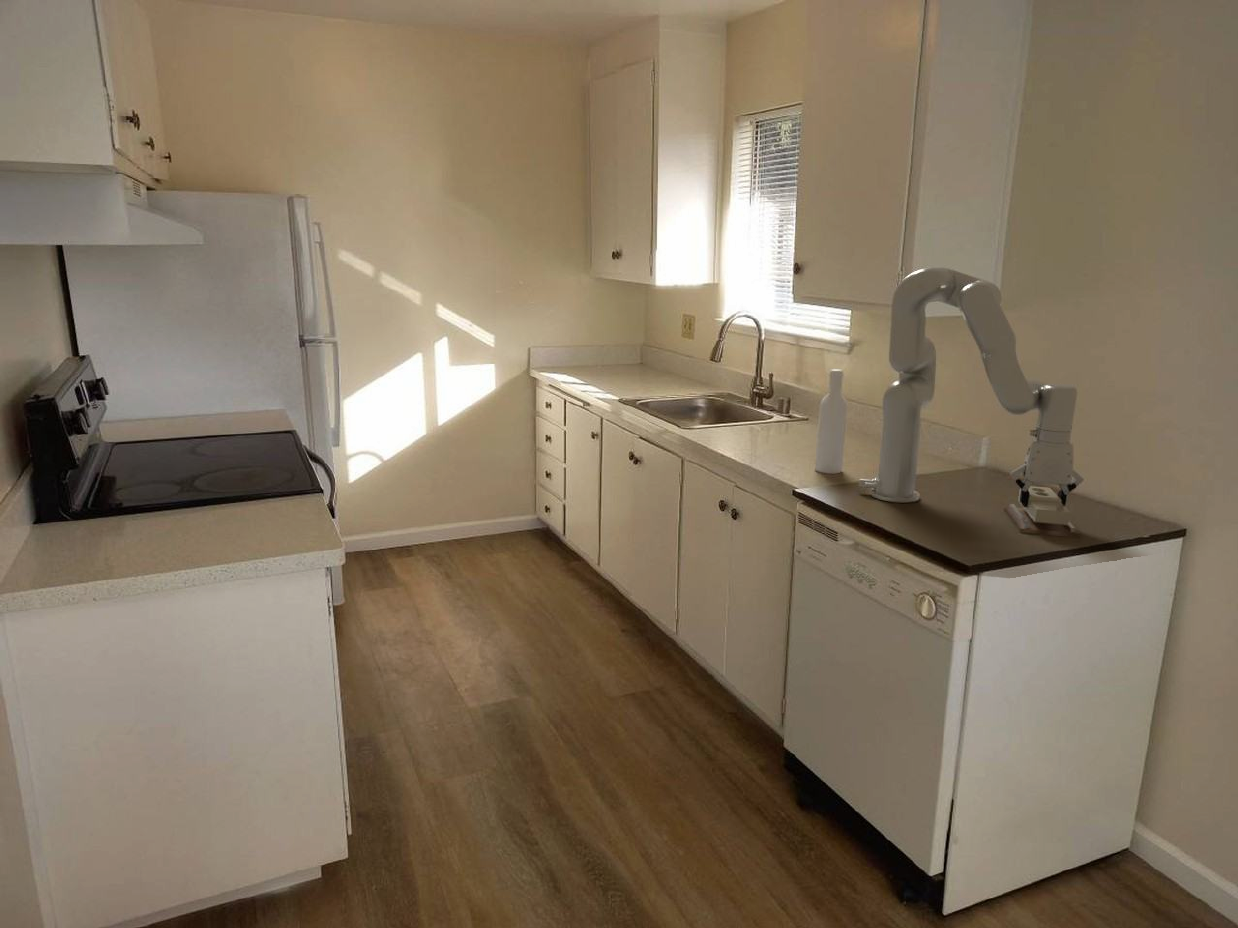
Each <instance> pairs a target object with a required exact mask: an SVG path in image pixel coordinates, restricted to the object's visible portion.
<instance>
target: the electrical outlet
mask: <svg viewBox="0 0 1238 928" xmlns="http://www.w3.org/2000/svg"><path fill="white" fill-rule="evenodd" d="M1028 491H1029V499H1028V505H1027V507H1023V505H1022V503H1020V495H1021V488H1020V487H1019V492H1018V498H1017V501H1018V502H1019V504H1020V505H1021V507H1022V508H1024V509H1025V510H1026V511H1027V513H1028V514H1029V515H1030V517H1031V518H1032V519H1033V520H1034V522H1041V523H1052V524H1063V525H1068V521H1069V520H1070V514H1071V512H1070V511H1069V509H1068V508H1067V507H1066V505H1065V506H1064V505H1063V504H1062V503H1061V499H1060V498H1059V497H1058V494H1057V493H1056V492H1055V491H1054V490H1053V489H1052V488H1051V487H1045V486H1043V487H1042V486H1033V485H1031V486H1030V488H1029V489H1028ZM1069 522H1070V521H1069Z"/></svg>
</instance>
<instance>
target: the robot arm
mask: <svg viewBox="0 0 1238 928" xmlns="http://www.w3.org/2000/svg"><path fill="white" fill-rule="evenodd" d="M935 302H936V303H937V302H940V303H943V304H946V305H949V306H952V307H955V308H958V309H959V311H960V314H961V315H962V318H963V320H964V322H965V323H966V325H967V327H968V330H969V331H970V333H971V336H972V338H973V339H974V342H975V344H976V346H977V349H978V350H979V353H980V356H981V361H982V364H983V367H984V369H985V373H986V376H987V379H988V381H989V384H990V385H991V388H992V389H993V392H994V393H995V396H996V398H997V400H998V402H999V403H1000V405H1001V406H1002V408H1003V409H1004V410H1005V411H1006V412H1008V413H1009V414H1012V415H1018V416H1020V415H1021V416H1022V415H1025V414H1027V413H1029V412H1031V411H1033V410H1038V414H1037V420H1036V426H1035V428H1034V429H1029V430H1028V436H1031V437H1033V439H1031V441H1030V442H1029V446H1028V449H1027V452H1026V455H1025V460H1024V463H1023V464H1022V465H1020V466H1018V467H1016V468H1015V469H1014V470H1011V471H1010V472H1009V474H1010V477H1011V478H1012V479H1013V480H1014V482H1015V484H1016V485H1017V486H1018V487H1019V489H1020V488H1021V495H1020V503H1022V505H1023V506H1022V505H1021V506H1022V508H1023V507H1027V505H1028V499H1029V491H1028V489H1029V488H1030V486H1033V484H1041V485H1052V486H1059V489H1060V490H1059V491H1057V496H1058V497H1059V498H1060V499H1061V503H1062V504H1063V505H1064V506H1065V507H1066V504H1067V503H1066V502H1067V498H1068V497H1067V496H1068V495H1069V494H1070V492H1072V491H1074V490H1075V489H1076V488H1077V487H1078V486H1079V485H1081V484H1082V483H1083V482H1084V478H1083V477H1082V476H1081V475H1080V474H1079V473H1078V472H1076V471H1075V470H1074V457H1075V456H1074V455H1075V454H1074V451H1075V450H1074V443H1072V442H1071V435H1072V429H1073V424H1074V419H1075V418H1074V416H1075V411H1076V410H1075V409H1076V403H1077V398H1078V390H1077V388H1076V387H1075V386H1073V385H1070V384H1065V383H1049V382H1043V381H1039V380H1035V379H1029V378H1026V377H1025V375H1024V372H1023V370H1022V368H1021V366H1020V364H1019V360H1018V356H1017V349H1016V348H1017V340H1016V339H1017V338H1016V335H1015V332H1014V330H1013V328H1012V326H1011V324H1010V322H1009V320H1008V318H1007V317H1006V314H1005V312H1004V310H1003V309H1002V307H1001V304H1002V303H1001V302H1002V293H1001V290H1000V289H999V287H998V286H997V285H996V284H995V283H993V282H992V281H989V280H985V279H981V278H978V277H975V276H973V275H969V274H967V273H963V272H960V271H957V270H955V269H951V268H948V267H942V266H941V267H935V266H933V267H924V268H922V269H921V268H920V269H919V270H916V271H914V272H912V273H910V274H908V275H907V276H905V277H904V278H903V279H902V280H901V281H900V282H899V284H898V285H897V286H896V288H895V290H894V292H893V296H892V300H891V312H890V313H891V314H890V315H891V316H890V327H889V328H890V332H889V333H890V334H889V348H888V349H889V350H888V361H889V365H890V367H891V368H892V370H893V371H895V372H897V373H898V379H897V380H895V381H894V382H892V383H891V384H890V385H888V387H887V388H886V390H885V391H884V393H883V397H882V429H881V442H880V443H881V444H880V452H879V453H880V454H879V464H878V472H877V473H878V474H877V475H876V476H875V478H871V479H867V478H859V482H858V483H859V484H858V485H859V486H860V487H864V488H870V493H869V494H870V495H871V496H872V497H873V498H875V499H877V500H881V501H884V502H890V503H891V502H892V503H913V502H917V501H919V500H920V497H921V495H920V493H919V492H918V491H916V490H915V486H916V475H917V467H918V460H919V459H918V458H919V447H920V438H921V422H922V421H921V411H922V410H923V409H925V408H927V407H928V406H929V405H930V404H931V402H932V401H933V399H934V396H935V388H936V368H937V351H936V346H935V344H934V342H933V341H932V339H930V338H929V337H927V336H926V325H927V319H926V308H927V305H928V304H931V303H935ZM1021 474H1022V476H1023V477H1024V480H1023V481H1022V480H1021V479H1020V477H1019V475H1021ZM1072 479H1073V480H1072ZM1020 503H1019V504H1020Z"/></svg>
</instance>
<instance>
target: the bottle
mask: <svg viewBox="0 0 1238 928" xmlns="http://www.w3.org/2000/svg"><path fill="white" fill-rule="evenodd" d="M828 376H829V381H828V382H829V383H828V393H827V394H826V395H825V396H823V398H822V399H821V402H820V404H819V412H818V413H819V415H818V416H819V417H818V426H817V427H818V428H817V441H816V453H815V454H816V455H815V459H814V461H815V462H814V465H815V466H814V470H815V471H816V472H819V473H821V474H829V475H831V474H832V475H833V474H834V475H835V474H836V475H837V474H840V473H842V471H843V467H844V466H843V465H844V451H845V439H846V429H847V428H846V427H847V418H848V417H847V416H848V402H847V399H846V398H845V397H844V396H843V395H842V389H843V388H842V387H843V377H844V370H842V369H838V368H833V369H830V371H829V375H828Z"/></svg>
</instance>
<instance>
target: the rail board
mask: <svg viewBox="0 0 1238 928" xmlns="http://www.w3.org/2000/svg"><path fill="white" fill-rule="evenodd" d="M1003 511H1004V512H1005V514H1006V515H1007V517H1008V518H1009V519H1010V521H1011V522H1012V523H1013V525H1014V526H1015V528H1016V529H1017V531H1018V533H1023V534H1033V535H1045V536H1058V537H1070V538H1080V537H1081V533H1080V532H1079V530H1078V529H1077V528H1076V527H1075V526H1074V525H1073V524H1072V523H1071V521H1068V525H1063V524H1052V523H1041V522H1034V520H1033V519H1032V518H1031V517H1030V515H1029V514H1028V513H1027V511H1026V510H1025V509H1024V508H1023V507H1017V506H1016V504H1014V503H1009V506H1004V509H1003Z"/></svg>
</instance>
